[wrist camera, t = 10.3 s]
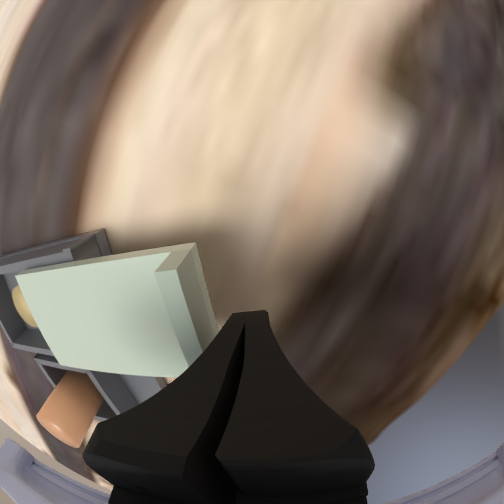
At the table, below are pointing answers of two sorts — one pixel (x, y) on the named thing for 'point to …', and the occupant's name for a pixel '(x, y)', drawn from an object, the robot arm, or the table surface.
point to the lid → (124, 310)
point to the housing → (31, 339)
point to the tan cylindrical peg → (71, 408)
